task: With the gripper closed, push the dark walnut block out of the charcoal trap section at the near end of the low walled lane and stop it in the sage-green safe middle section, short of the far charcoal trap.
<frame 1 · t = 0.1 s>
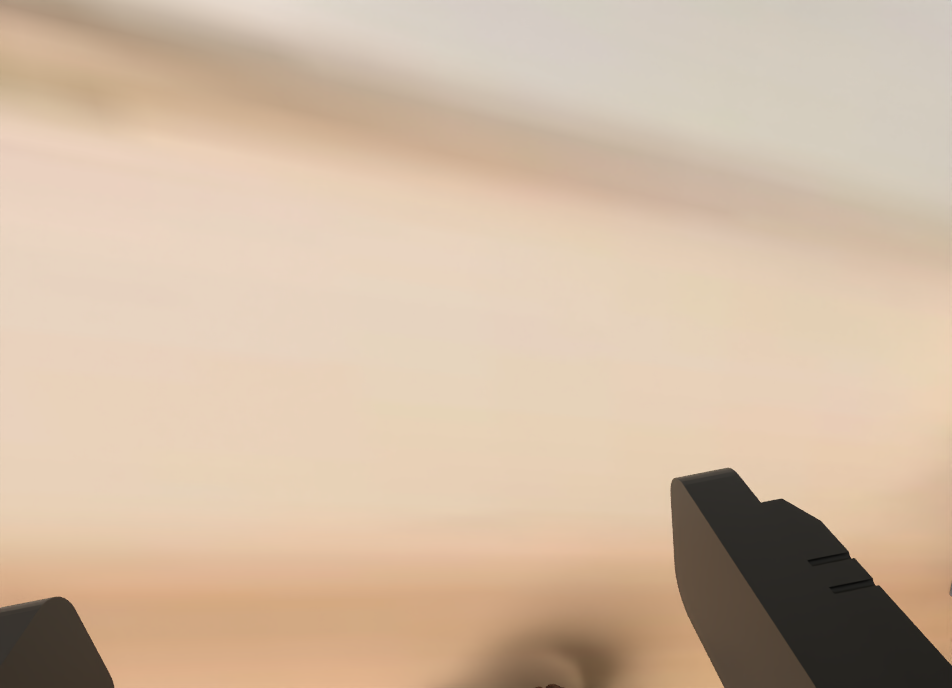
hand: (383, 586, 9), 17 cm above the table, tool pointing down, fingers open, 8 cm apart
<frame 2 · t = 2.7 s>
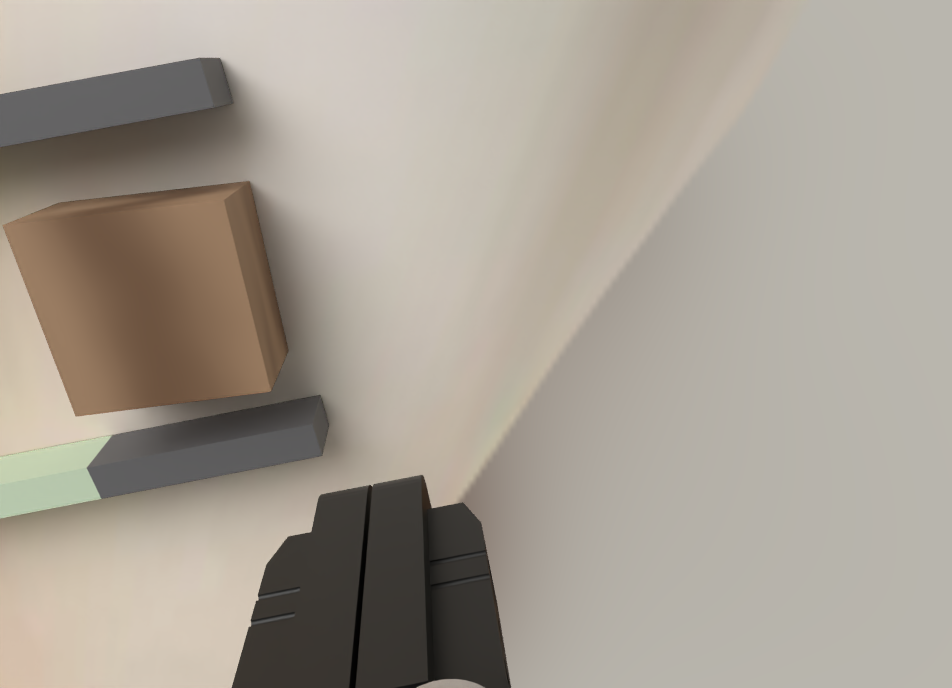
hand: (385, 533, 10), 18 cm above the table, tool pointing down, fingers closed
walnut block: (182, 279, 27), on the table
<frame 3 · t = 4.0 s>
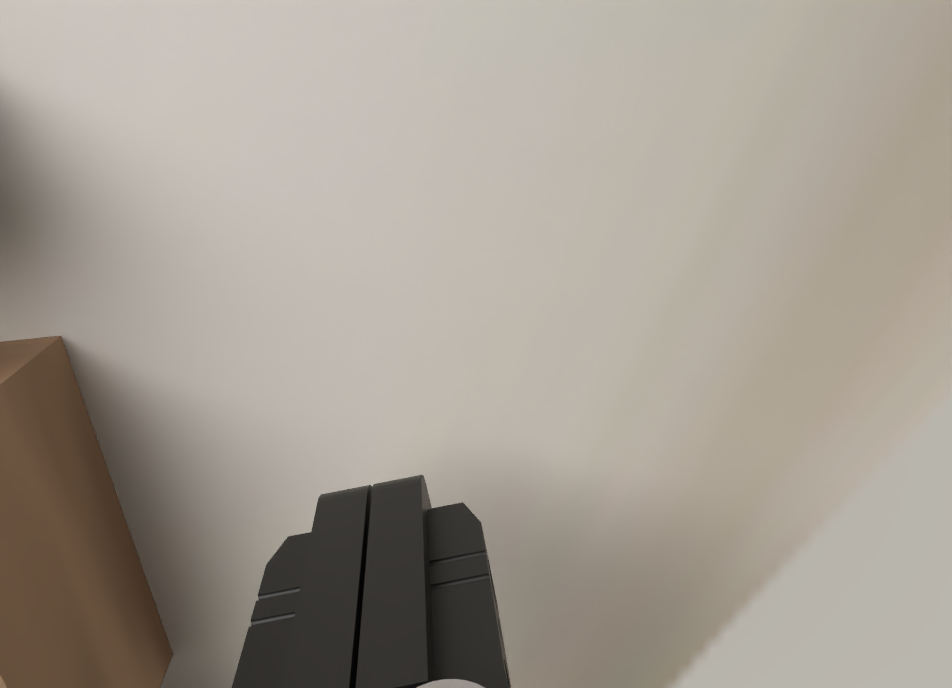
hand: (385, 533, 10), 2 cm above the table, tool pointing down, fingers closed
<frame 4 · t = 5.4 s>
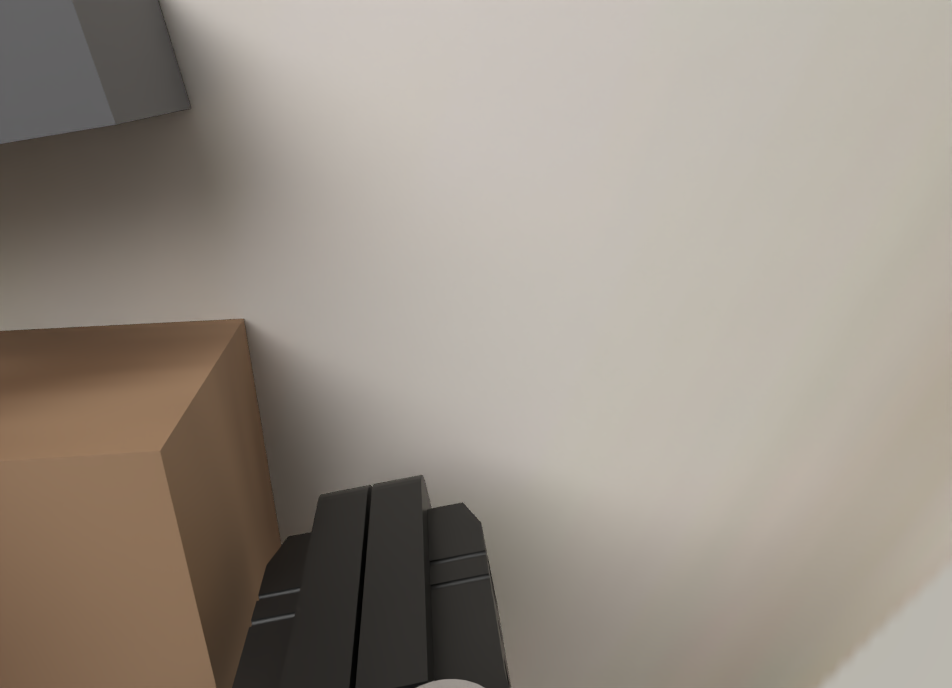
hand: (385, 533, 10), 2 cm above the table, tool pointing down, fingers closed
walnut block: (69, 515, 11), on the table, touching gripper
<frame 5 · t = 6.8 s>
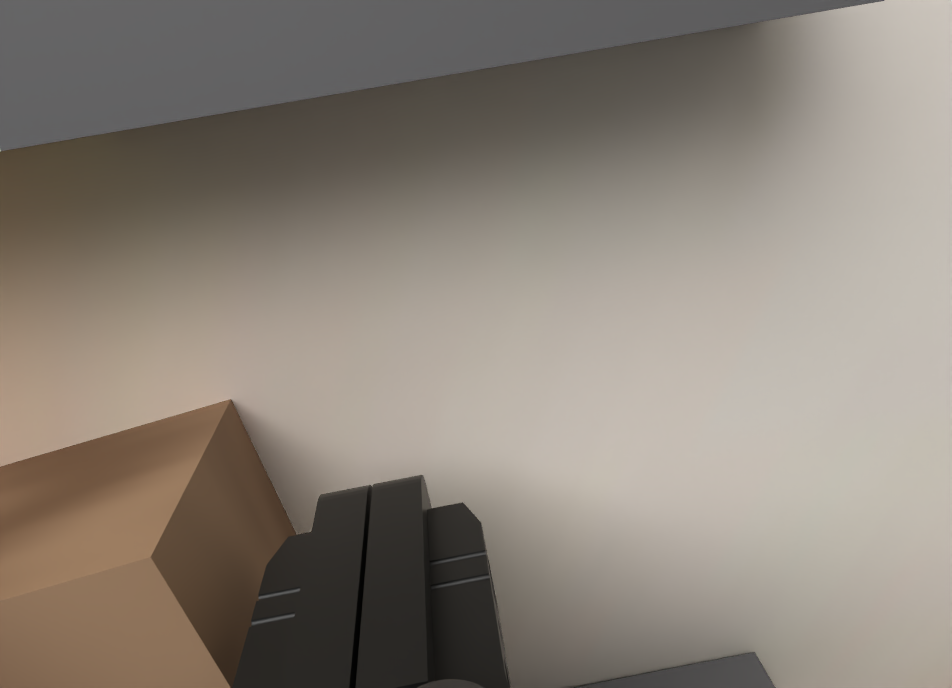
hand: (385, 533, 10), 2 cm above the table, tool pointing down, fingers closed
walnut block: (132, 604, 12), on the table, touching gripper
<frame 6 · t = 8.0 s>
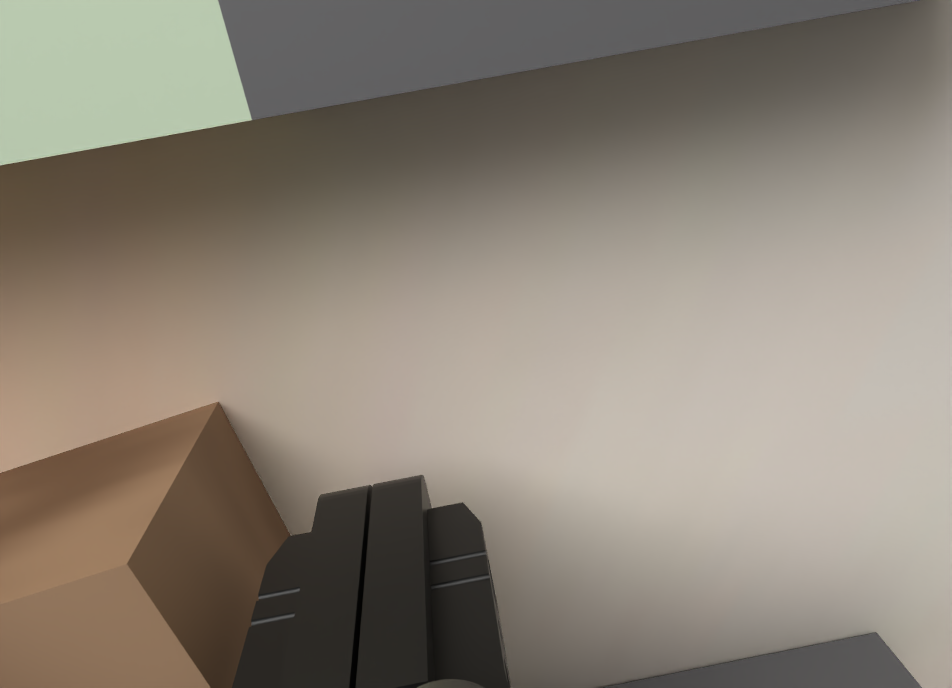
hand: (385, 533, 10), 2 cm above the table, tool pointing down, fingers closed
walnut block: (129, 612, 12), on the table
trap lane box: (123, 527, 11), on the table
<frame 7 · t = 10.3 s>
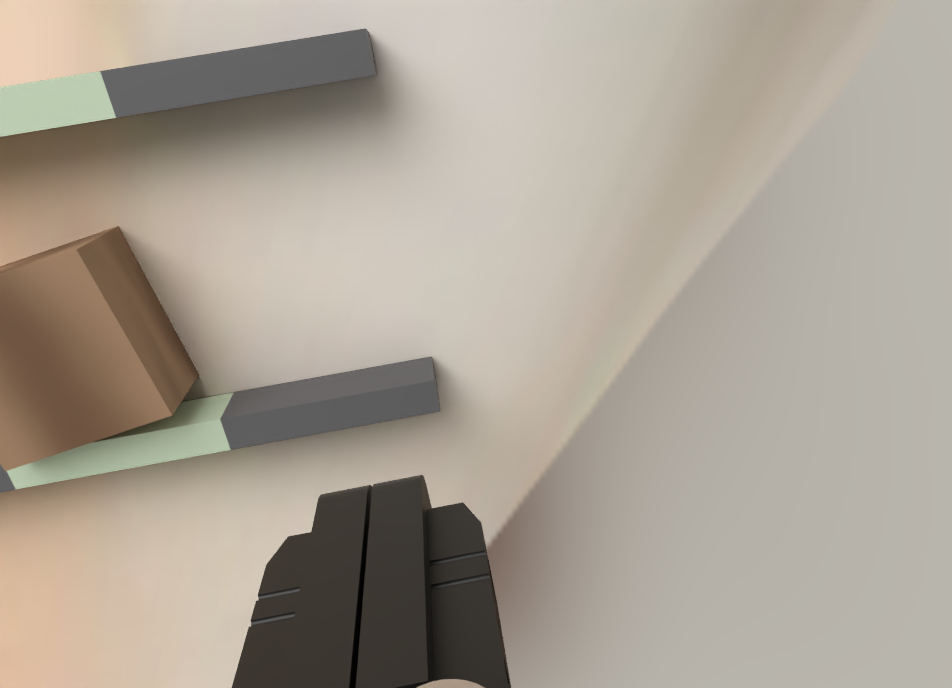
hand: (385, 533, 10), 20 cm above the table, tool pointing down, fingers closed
walnut block: (85, 328, 28), on the table
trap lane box: (82, 283, 27), on the table
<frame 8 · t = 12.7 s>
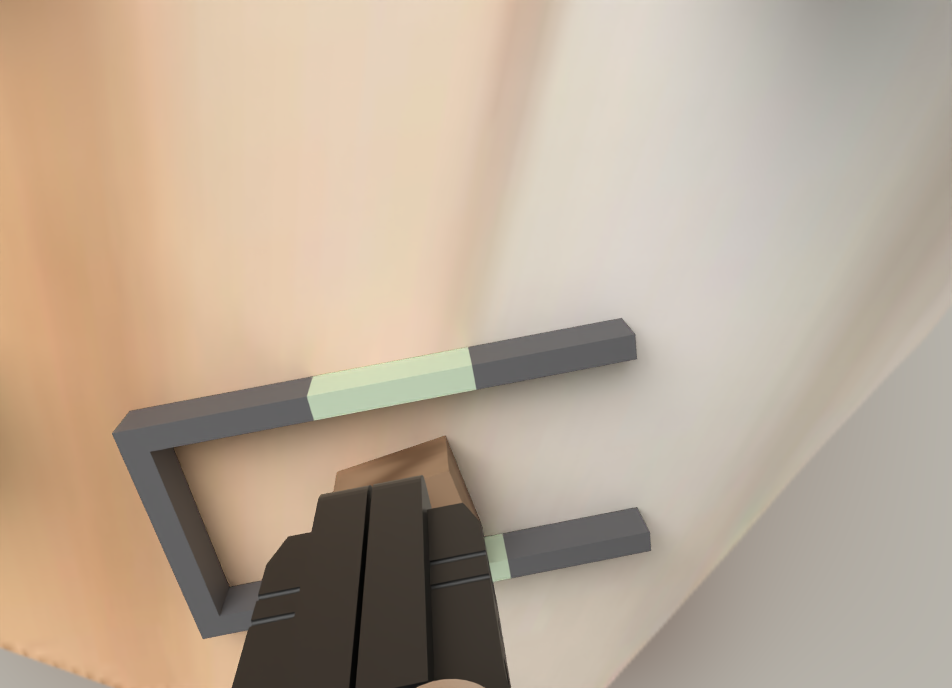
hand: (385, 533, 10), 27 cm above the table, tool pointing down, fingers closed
walnut block: (411, 496, 42), on the table
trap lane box: (416, 470, 41), on the table
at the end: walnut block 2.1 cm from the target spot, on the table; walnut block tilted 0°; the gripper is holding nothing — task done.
